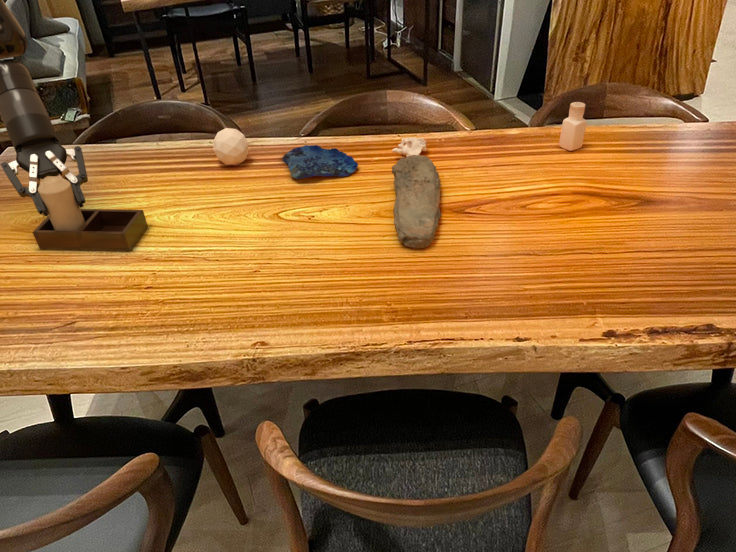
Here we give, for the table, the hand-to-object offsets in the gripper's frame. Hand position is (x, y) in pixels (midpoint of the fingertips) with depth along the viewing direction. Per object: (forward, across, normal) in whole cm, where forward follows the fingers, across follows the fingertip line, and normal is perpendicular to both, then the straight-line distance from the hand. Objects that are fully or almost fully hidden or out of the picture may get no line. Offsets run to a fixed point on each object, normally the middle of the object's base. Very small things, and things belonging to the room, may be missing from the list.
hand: (63, 209), depth 112 cm
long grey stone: (+21, +61, -12) cm, 65 cm away
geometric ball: (-7, +38, +17) cm, 42 cm away
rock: (+1, +52, +8) cm, 53 cm away
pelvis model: (+6, +73, +3) cm, 74 cm away
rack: (+5, +3, +4) cm, 7 cm away
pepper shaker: (+18, +106, -8) cm, 107 cm away
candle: (+2, 0, +5) cm, 5 cm away
